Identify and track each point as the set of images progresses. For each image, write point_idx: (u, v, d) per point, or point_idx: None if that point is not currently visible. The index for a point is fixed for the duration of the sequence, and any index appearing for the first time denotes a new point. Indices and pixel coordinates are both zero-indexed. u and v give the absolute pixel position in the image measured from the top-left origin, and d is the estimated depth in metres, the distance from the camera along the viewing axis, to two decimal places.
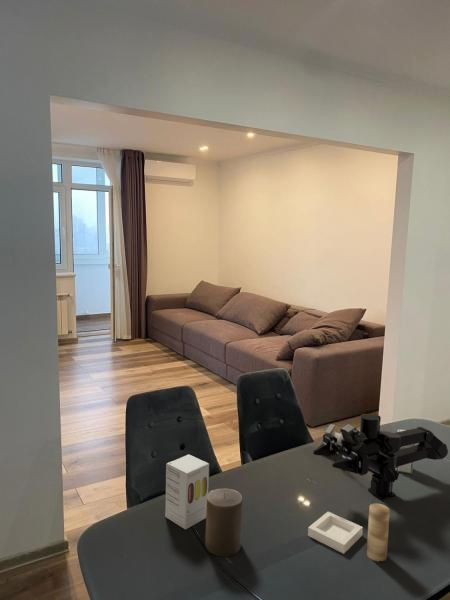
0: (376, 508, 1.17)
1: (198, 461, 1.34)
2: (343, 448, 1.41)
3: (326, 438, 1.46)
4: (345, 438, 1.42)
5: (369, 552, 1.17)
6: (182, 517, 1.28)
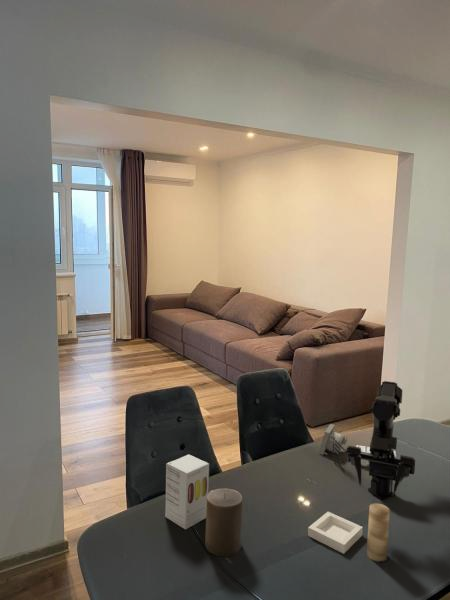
0: (376, 508, 1.17)
1: (198, 461, 1.34)
2: (377, 457, 1.29)
3: (355, 457, 1.30)
4: (375, 448, 1.29)
5: (369, 552, 1.17)
6: (182, 517, 1.28)
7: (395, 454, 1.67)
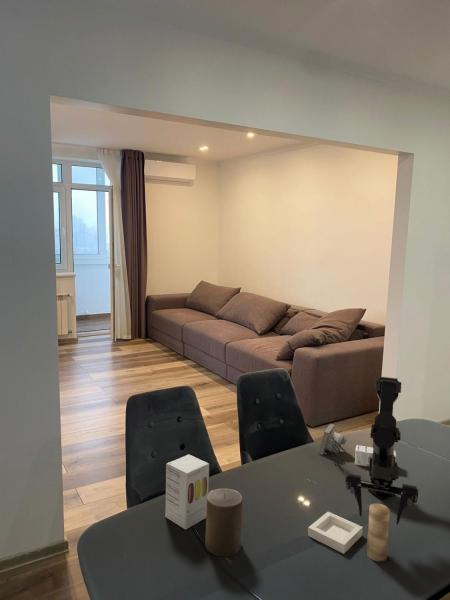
0: (376, 508, 1.17)
1: (198, 461, 1.34)
2: (378, 486, 1.23)
3: (355, 487, 1.23)
4: None
5: (369, 552, 1.17)
6: (182, 517, 1.28)
7: (395, 454, 1.67)
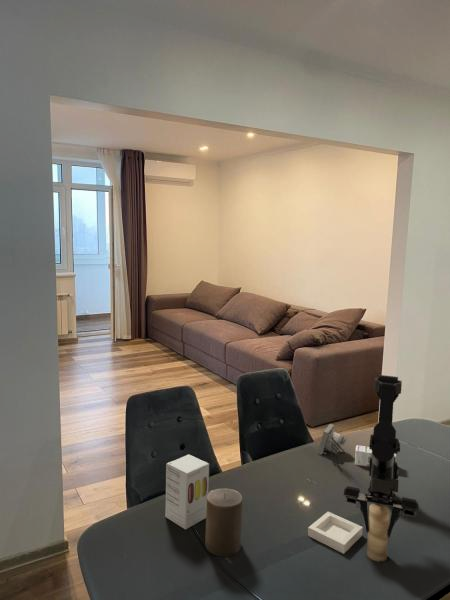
0: (376, 508, 1.17)
1: (198, 461, 1.34)
2: (377, 499, 1.21)
3: (361, 502, 1.20)
4: None
5: (369, 552, 1.17)
6: (182, 517, 1.28)
7: (395, 454, 1.67)
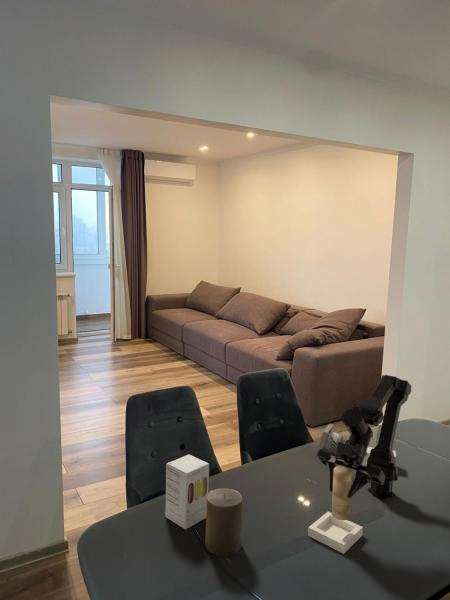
0: (339, 470, 1.24)
1: (198, 461, 1.34)
2: (346, 463, 1.27)
3: (329, 463, 1.27)
4: None
5: (332, 510, 1.24)
6: (182, 517, 1.28)
7: (395, 454, 1.67)
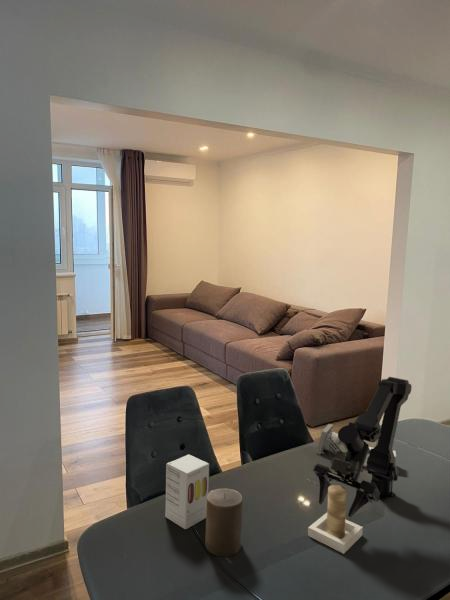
0: (334, 489, 1.25)
1: (198, 461, 1.34)
2: (342, 479, 1.28)
3: (320, 476, 1.30)
4: None
5: None
6: (182, 517, 1.28)
7: (395, 454, 1.67)
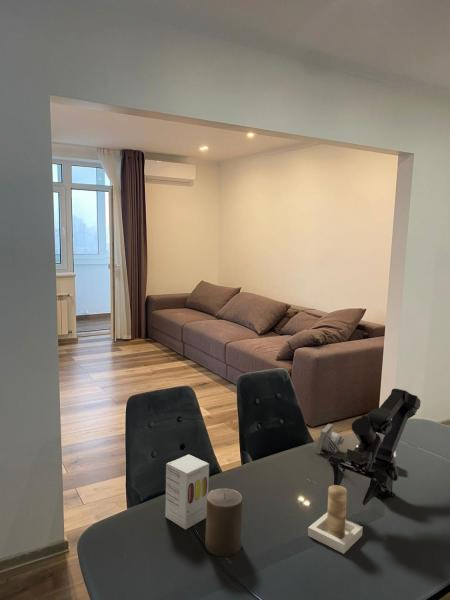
0: (334, 489, 1.25)
1: (198, 461, 1.34)
2: (355, 469, 1.35)
3: (334, 466, 1.37)
4: None
5: None
6: (182, 517, 1.28)
7: (395, 454, 1.67)
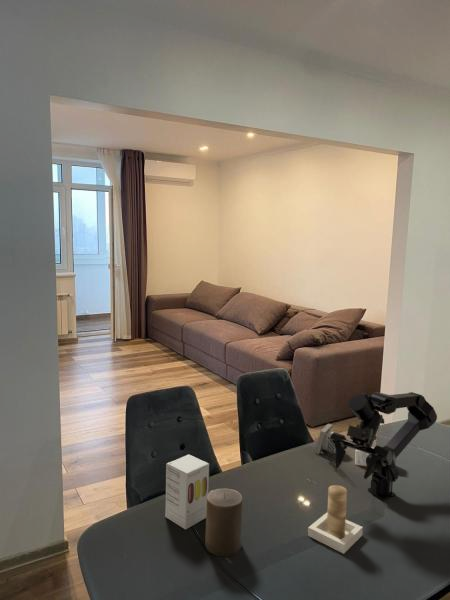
0: (334, 489, 1.25)
1: (198, 461, 1.34)
2: (357, 445, 1.38)
3: (336, 443, 1.41)
4: (354, 436, 1.38)
5: None
6: (182, 517, 1.28)
7: None
